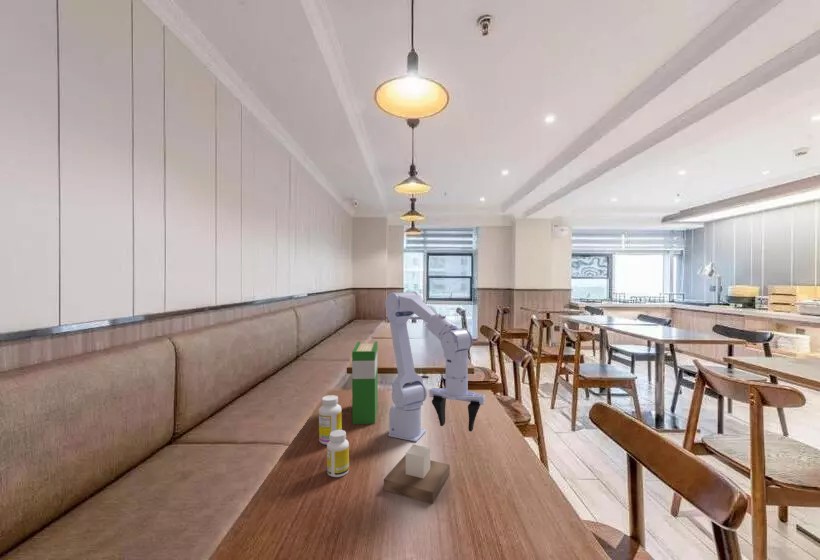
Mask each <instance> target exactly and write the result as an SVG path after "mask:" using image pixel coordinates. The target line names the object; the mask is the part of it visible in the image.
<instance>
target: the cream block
mask: <svg viewBox="0 0 820 560" xmlns="http://www.w3.org/2000/svg"><path fill="white" fill-rule="evenodd" d="M405 455H406V474H407V475H411V476H415V477H419V478H424V477H425V476H426V474H427V473H428V471H429V470H430V460H431V447H426V446H422V445H417V444H412V445H411V447H410V448H409V449H408V450H407V451H406V452H405Z"/></svg>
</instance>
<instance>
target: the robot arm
mask: <svg viewBox="0 0 820 560" xmlns="http://www.w3.org/2000/svg"><path fill="white" fill-rule="evenodd" d="M384 304H385V312H386V316H387V320H388V321H389V326H390V333H391V339H392V345H393V350H394V357H395V363H396V370H397V376H396V377H395V378H394V380H393V381H392V382H391V399H392V402H393V404H392V405H391V407H390V410H389V417H388V419H389V420H388V421H389V422H388V430H389V431H388V435H387V436H388V437H391V438H396V439H402V440H404V441H405V440H406V441H411V442H418V441H419V440H420V438H421V437H422V436H423V435H424V434H425V433H426V429H425V428H422V406H423V405H424V402H425V401H426V400H427V394H429V398H432V400H431V403H432V406H433V407H434V409H435V412H436V414H437V417H438V418H437V419H438V422H439V426H440V427H444V425H445V424H446V402H447V399H448V400H450V401H451V400H452V401H461V402H468V405H467V412H468V413H467V414H468V426H467V427H468V428H467V429H468V432H472V431H473V430H474V425H475V421H476V417H477V413H478V411H479V410H480V407H481V406H482V405H484V404H486V403H485V402H486V395H485V394H481V393H478V392H474V391H470V390H468V389H469V388H468V386H469V385H468V384H469V383H468V382H469V379H468V377H469V375H468V373H469V371H468V370H469V367H468V366H469V365H468V363H469V361H468V359H469V357H468V355H469V354H468V351H469V350H470V349H471V348H472V346H473V337H472V334H471V332H470V331H469V330H468V329H467V328H465V327H461V328H460V327H459V326H457V324H456V323H453V322H452V321H451V320H449V319H448V318H447V317H446V315H445V314H444V313H435V312H434V311H433V310H432V309H431V308H430V307H429V306H428V305H427V304H426V303H425V302H424V301H423V299H422V295H421V294H419V293H418V292H416V291H408V292H405V291H404V292H393V291H392V292H389V293H388V294H387V296H386V299H385V301H384ZM414 315H416V316H417V317H418V318H420V319H421V320H422V321H424V322H425V323H426V327H427V330H428V331H429V332H430V333H431V334H433V336H434V337H436V338H437V339H438V340H439V341H440V344H441V348H442V351H443V357H444V360H445V388H441V387H440V388H438V387H431V388H430V389H429V390H428V391H429V393H427V388H426V385H425V383H424V380H423V377H422V376H421V375H420V374H418V373H416V370H415V366H414V359H413V353H412V348H411V342H410V337H409V331H408V330H409V329H408V325H407V323H408V321H409V319H411V318H412V317H413V316H414Z"/></svg>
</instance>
